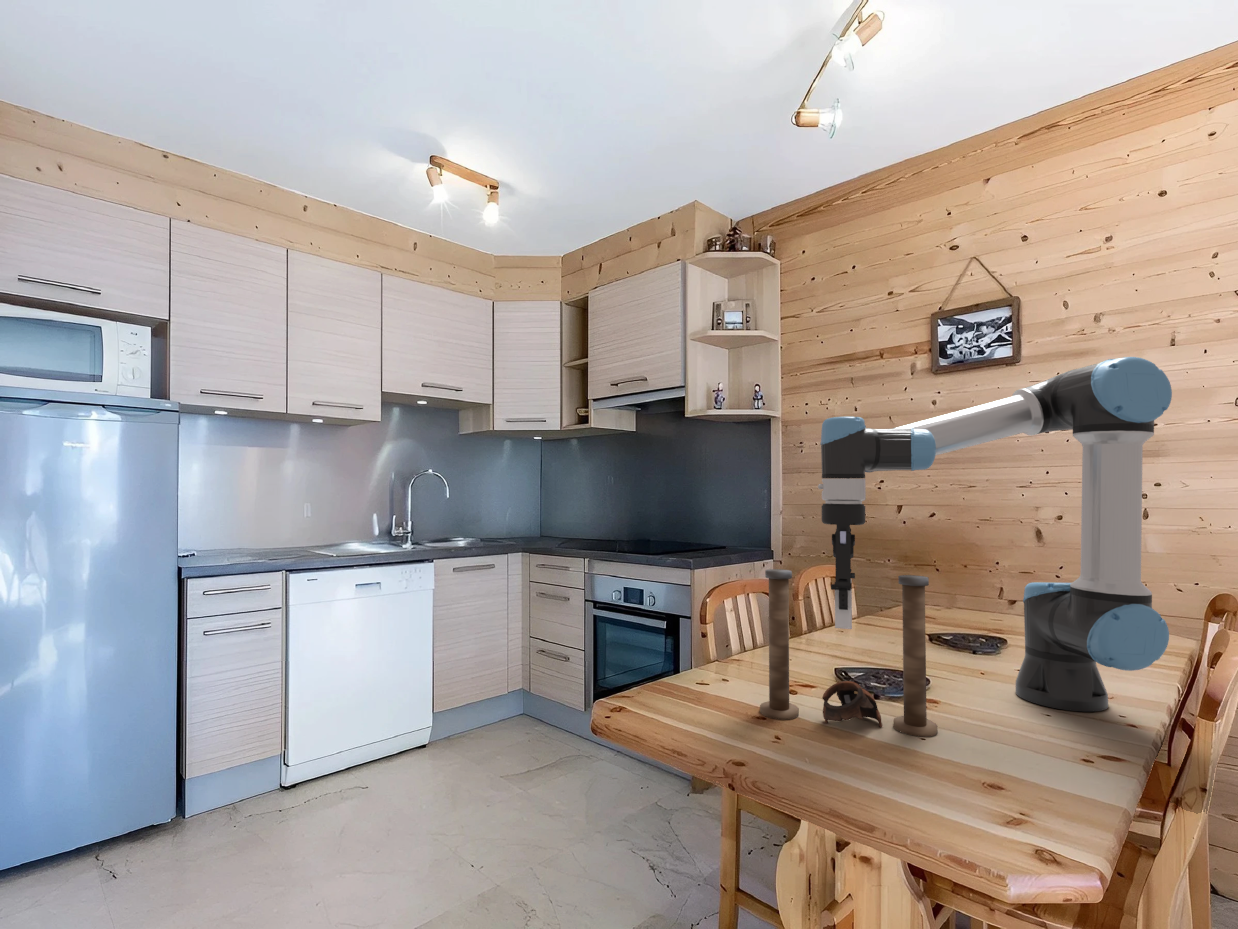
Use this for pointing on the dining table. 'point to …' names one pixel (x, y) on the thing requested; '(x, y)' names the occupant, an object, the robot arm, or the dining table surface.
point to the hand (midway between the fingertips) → (843, 620)
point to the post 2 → (914, 659)
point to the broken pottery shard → (850, 703)
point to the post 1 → (779, 648)
